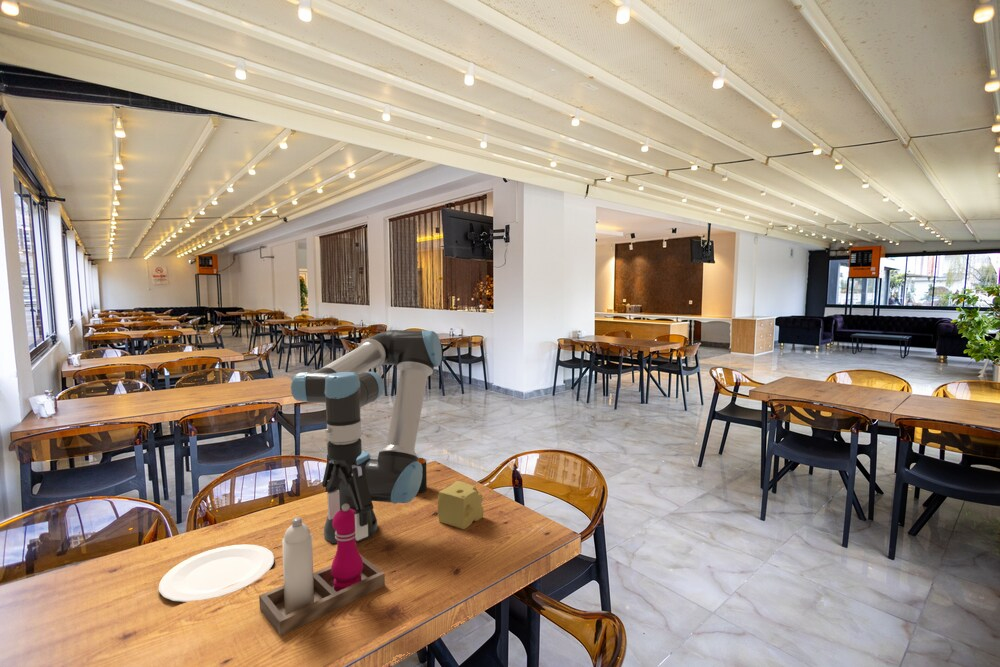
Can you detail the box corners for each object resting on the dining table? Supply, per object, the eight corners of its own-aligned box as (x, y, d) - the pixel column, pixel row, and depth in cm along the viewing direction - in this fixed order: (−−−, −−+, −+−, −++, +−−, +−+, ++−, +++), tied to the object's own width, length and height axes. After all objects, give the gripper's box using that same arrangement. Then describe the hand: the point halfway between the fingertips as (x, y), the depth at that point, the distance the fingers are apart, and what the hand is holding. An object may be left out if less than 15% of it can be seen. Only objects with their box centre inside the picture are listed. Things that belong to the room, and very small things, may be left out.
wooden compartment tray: (280, 641, 96) (279, 621, 96) (259, 613, 105) (259, 595, 104) (384, 590, 113) (384, 573, 113) (359, 569, 122) (359, 554, 121)
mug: (409, 499, 164) (408, 470, 163) (401, 487, 175) (400, 459, 174) (432, 495, 167) (432, 466, 166) (423, 483, 178) (422, 456, 177)
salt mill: (280, 607, 105) (277, 519, 103) (307, 595, 109) (304, 510, 107) (291, 621, 101) (288, 529, 99) (318, 607, 105) (316, 519, 103)
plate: (256, 540, 137) (256, 534, 137) (289, 576, 119) (289, 569, 119) (149, 575, 120) (149, 568, 120) (170, 623, 102) (169, 616, 102)
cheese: (483, 517, 151) (483, 486, 150) (463, 531, 142) (463, 498, 141) (457, 509, 156) (457, 479, 156) (436, 522, 147) (436, 491, 146)
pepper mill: (354, 596, 109) (351, 512, 107) (325, 592, 110) (322, 509, 109) (368, 578, 116) (367, 498, 114) (341, 575, 117) (339, 496, 116)
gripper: (305, 431, 116) (309, 514, 118) (355, 457, 99) (359, 554, 101) (335, 425, 122) (338, 505, 124) (387, 448, 104) (390, 541, 106)
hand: (347, 527), depth 112 cm, fingers open, 13 cm apart
